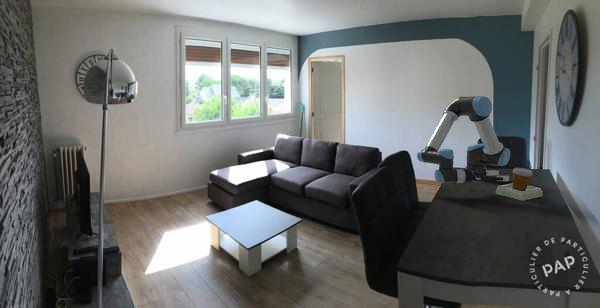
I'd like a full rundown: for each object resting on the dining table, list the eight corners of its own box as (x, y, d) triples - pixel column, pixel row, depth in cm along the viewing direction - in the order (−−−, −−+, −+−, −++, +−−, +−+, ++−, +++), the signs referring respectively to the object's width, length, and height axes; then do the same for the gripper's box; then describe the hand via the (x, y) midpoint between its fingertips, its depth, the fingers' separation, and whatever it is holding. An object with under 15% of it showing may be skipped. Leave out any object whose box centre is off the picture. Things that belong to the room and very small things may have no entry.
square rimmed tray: (514, 189, 207) (514, 182, 206) (542, 196, 193) (542, 188, 192) (495, 193, 201) (496, 186, 200) (522, 200, 186) (523, 192, 186)
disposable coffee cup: (523, 188, 197) (528, 168, 194) (531, 194, 188) (536, 173, 185) (505, 186, 199) (510, 166, 195) (513, 192, 189) (517, 171, 186)
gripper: (457, 177, 212) (494, 177, 209) (470, 188, 188) (513, 187, 185) (457, 165, 211) (494, 164, 208) (471, 174, 187) (513, 173, 184)
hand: (503, 175), depth 196 cm, fingers open, 13 cm apart
